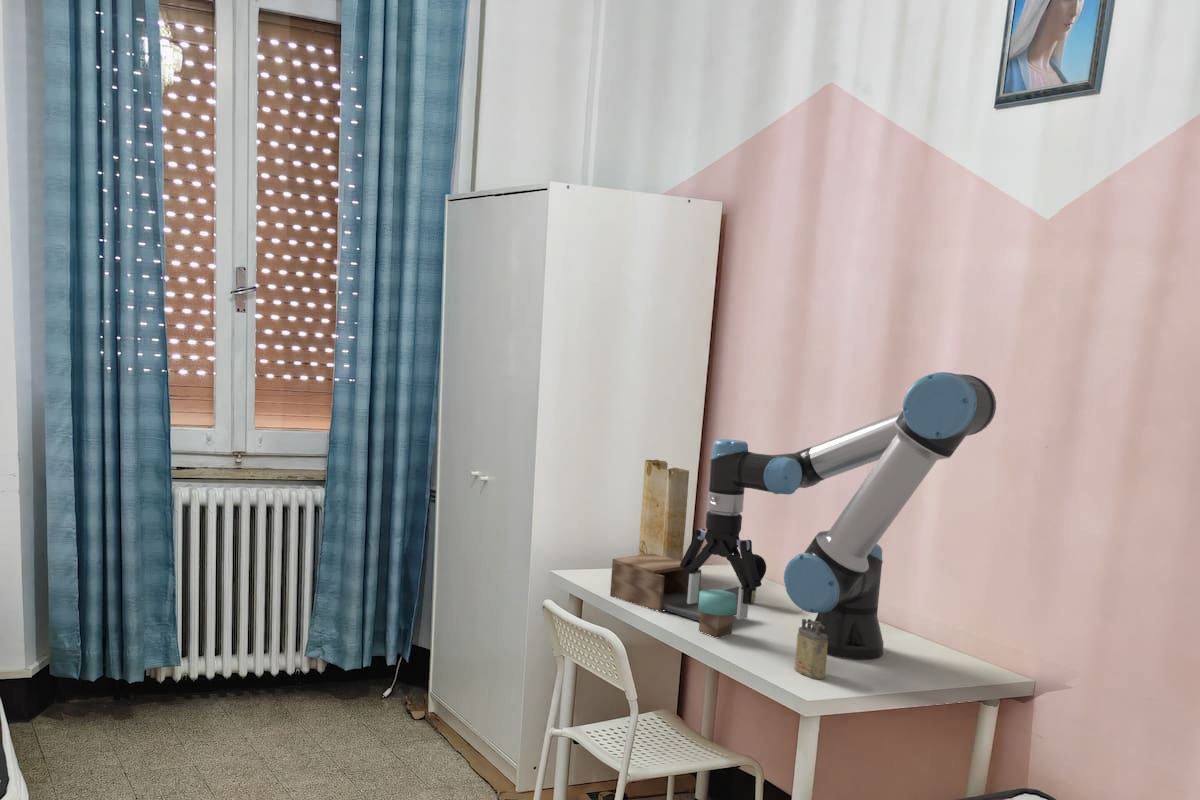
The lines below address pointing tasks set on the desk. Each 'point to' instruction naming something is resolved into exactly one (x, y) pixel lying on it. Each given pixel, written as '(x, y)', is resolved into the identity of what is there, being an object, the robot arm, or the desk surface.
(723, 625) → the block
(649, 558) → the box
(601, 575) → the desk surface
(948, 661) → the desk surface
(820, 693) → the desk surface
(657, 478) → the tan piece
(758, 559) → the light bulb
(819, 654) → the lighter
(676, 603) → the tray
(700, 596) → the teal rounded puck
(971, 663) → the desk surface
